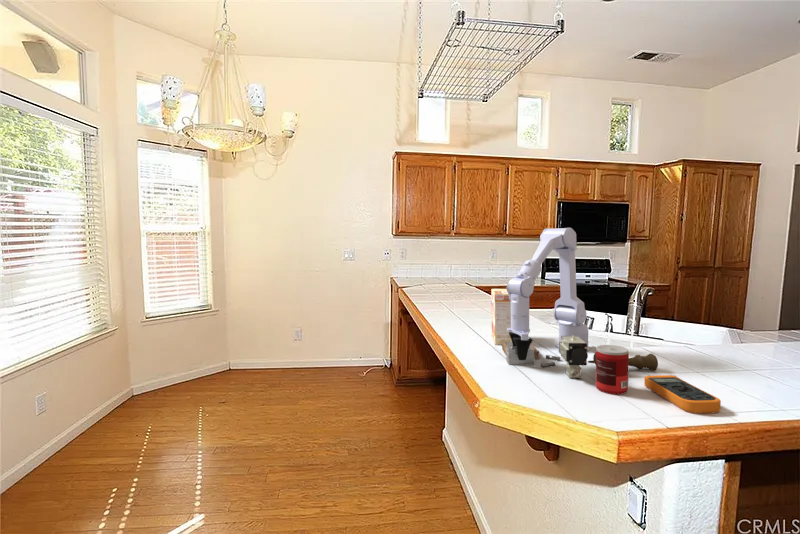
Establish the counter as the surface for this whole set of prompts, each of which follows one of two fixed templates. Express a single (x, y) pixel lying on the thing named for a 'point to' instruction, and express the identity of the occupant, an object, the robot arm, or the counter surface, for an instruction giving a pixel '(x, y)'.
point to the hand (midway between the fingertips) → (520, 356)
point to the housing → (513, 356)
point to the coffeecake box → (500, 316)
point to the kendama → (639, 361)
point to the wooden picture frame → (504, 344)
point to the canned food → (612, 369)
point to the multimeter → (683, 394)
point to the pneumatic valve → (573, 354)
